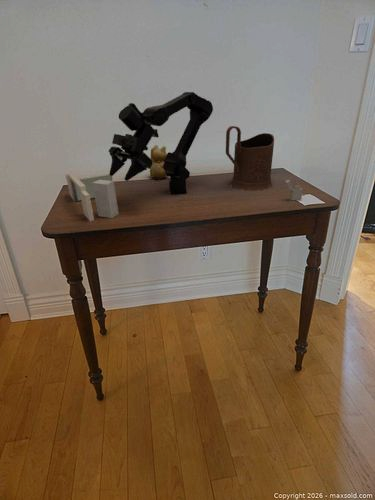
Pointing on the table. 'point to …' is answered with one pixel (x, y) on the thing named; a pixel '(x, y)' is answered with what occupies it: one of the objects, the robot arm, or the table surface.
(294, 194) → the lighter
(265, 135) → the brown pitcher
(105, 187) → the skincare box
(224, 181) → the table surface
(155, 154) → the decorative figurine
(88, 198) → the wall frame
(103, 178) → the door
